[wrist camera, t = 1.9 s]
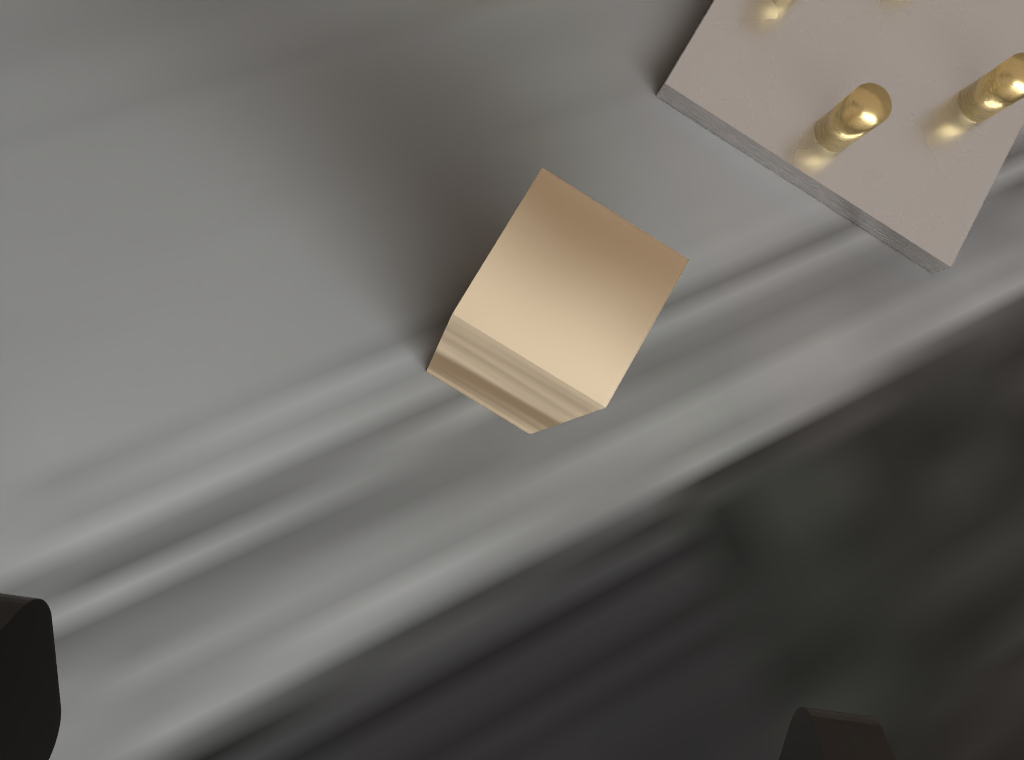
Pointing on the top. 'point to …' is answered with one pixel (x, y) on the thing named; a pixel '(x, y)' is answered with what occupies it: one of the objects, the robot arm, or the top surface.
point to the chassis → (866, 105)
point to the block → (556, 309)
